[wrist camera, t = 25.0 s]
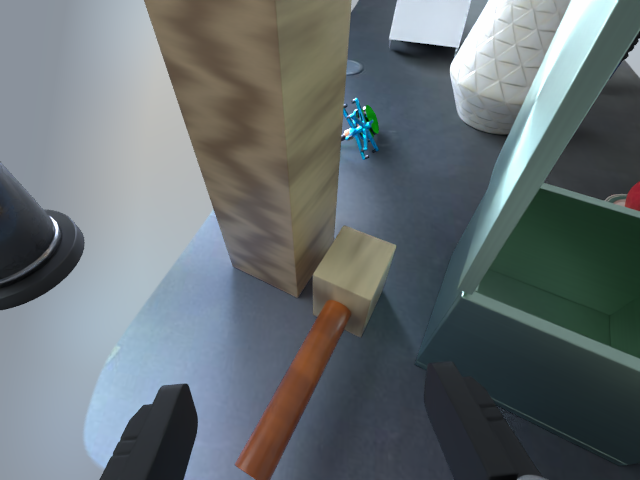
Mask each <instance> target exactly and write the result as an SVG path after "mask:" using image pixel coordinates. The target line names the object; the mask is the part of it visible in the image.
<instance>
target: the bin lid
mask: <svg viewBox="0 0 640 480" xmlns="http://www.w3.org/2000/svg"><path fill="white" fill-rule="evenodd" d="M639 31H640V0H571V1H570V4H569V6H568V8H567V10H566V12H565V14H564V16H563V19H562V21H561V23H560V25H559V27H558V29H557V32H556V34H555V36H554V38H553V40H552V42H551V44H550V47H549V49H548V51H547V53H546V55H545V57H544V59H543V62H542V64H541V66H540V68H539V70H538V72H537V75H536V77H535V79H534V81H533V83H532V85H531V87H530V90H529V92H528V94H527V96H526V98H525V100H524V102H523V105H522V107H521V109H520V111H519V113H518V115H517V118H516V120H515V122H514V124H513V126H512V128H511V130H510V133H509V135H508V137H507V139H506V141H505V143H504V145H503V148H502V150H501V152H500V154H499V156H498V158H497V161H496V163H495V166H494V169H493V173H492V176H491V179H490V182H489V186H488V189H487V192H486V196H485V199H484V202H483V206H482V209H481V212H480V216H479V219H478V222H477V226H476V229H475V232H474V235H473V239H472V242H471V245H470V249H469V252H468V255H467V259H466V262H465V265H464V269H463V272H462V275H461V278H460V282H459V285H458V288H457V289H458V290H460V291H463V292H465V293H468V294H470V295H472V294H473V293H474V291H475V290H476V288H477V286H478V285H479V283H480V282H481V280H482V279H483V277H484V275H485V274H486V272H487V271H488V269H489V267H490V266H491V264H492V263H493V261H494V260H495V258H496V256H497V255H498V253H499V252H500V250H501V249H502V247H503V245H504V244H505V242H506V241H507V239H508V238H509V236H510V234H511V233H512V231H513V230H514V228H515V227H516V225H517V223H518V222H519V220H520V219H521V217H522V215H523V214H524V212H525V211H526V209H527V208H528V206H529V204H530V203H531V201H532V200H533V198H534V197H535V195H536V193H537V192H538V190H539V189H540V187H541V186H542V184H543V182H544V181H545V179H546V178H547V176H548V174H549V173H550V171H551V170H552V168H553V167H554V165H555V163H556V162H557V160H558V159H559V157H560V156H561V154H562V152H563V151H564V149H565V148H566V146H567V145H568V143H569V141H570V140H571V138H572V137H573V135H574V134H575V132H576V130H577V129H578V127H579V126H580V124H581V122H582V121H583V119H584V118H585V116H586V115H587V113H588V111H589V110H590V108H591V107H592V105H593V104H594V102H595V100H596V99H597V97H598V96H599V94H600V93H601V91H602V89H603V88H604V86H605V85H606V83H607V81H608V80H609V78H610V77H611V75H612V74H613V72H614V70H615V69H616V67H617V66H618V64H619V63H620V61H621V59H622V58H623V56H624V55H625V53H626V52H627V50H628V48H629V47H630V45H631V44H632V42H633V41H634V39H635V37H636V36H637V34H638V33H639Z"/></svg>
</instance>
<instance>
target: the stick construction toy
mask: <svg viewBox="0 0 640 480" xmlns="http://www.w3.org/2000/svg"><path fill="white" fill-rule="evenodd" d="M351 102H352V103H355V102H356V105H357V110H355V111H354V115H353V114H351V115H348V113H347V112H346V110H345V108H346V107H347V104H345V105H344V108H343V114H344V116H345V118H346V119H347V121H348V123H349V125H350V127H351V128H350V129H348V130H346V131H345V132H344V133H345V134H343V135H341V141H343V140H345V139H346V140H351V139H353V138H354V137H355V138H356V141H357V144H358V147H359V150H360V153H361V156H362V159H363V160H365V159H367V158H369V156H368V155H367V156H365V155H364V151H366V150H368V142H370V141H371V143H372V145H373V146H374V148H375V149H374V150H372V152H373V153H374V152H376V151H379V149H378V147H377V145H376V143H375V141H374V139H373V135H375V134H377V133H378V132H379V127H378V121H377V118H376V115H375V113H374V111H373V110H372V108H371V107H370V106H369V105H366V106H364V107H363V109H361V106H360V103H359V100H358V98H356V99H354V100H352V101H351ZM357 112H358V113H357ZM351 118H352V119H353V120H354V122H352V120H351ZM361 132H362V133H363V134H362V133H361ZM360 138H361V139H362V140H364V148H362V144H361V141H360Z"/></svg>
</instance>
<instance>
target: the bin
mask: <svg viewBox="0 0 640 480" xmlns="http://www.w3.org/2000/svg"><path fill="white" fill-rule="evenodd" d="M486 192H487V191H486ZM485 196H486V193H485V195H484V196H483V198H482V200H481V202H480V204H479V206H478V207H477V209H476V211H475V213H474V215H473V217H472V218H471V220H470V222H469V224H468V226H467V228H466V230H465V231H464V233H463V235H462V237H461V239H460V241H459V242H458V244H457V246H456V248H455V250H454V252H453V253H452V256H451V259H450V261H449V264H448V267H447V270H446V273H445V276H444V279H443V282H442V285H441V288H440V291H439V294H438V297H437V300H436V303H435V305H434V308H433V311H432V314H431V317H430V320H429V323H428V326H427V329H426V332H425V335H424V338H423V341H422V344H421V346H420V349H419V352H418V355H417V358H416V361H415V365H417V366H419V367H421V368H423V369H425V370H427V365H428V363H432V362H443V361H452V362H453V363H454V364H455V366H456V367H457V369H458V371H459V372H460V374H461V376H462V377H467V376H471V377H472V378H474V379H475V380H476V381H477V382H478V383H479V384H481V385H482V386H483V387H484V388H485V389H486V390H487V392H488V394H489V395H490V397H491V398H492V400H493V401H494V403H495V405H497V406H499V407H501V408H504V409H506V410H508V411H510V412H512V413H514V414H516V415H518V416H520V417H522V418H524V419H526V420H528V421H530V422H532V423H534V424H536V425H538V426H540V427H542V428H544V429H546V430H548V431H550V432H552V433H554V434H556V435H558V436H560V437H562V438H564V439H566V440H568V441H570V442H572V443H574V444H576V445H578V446H580V447H582V448H584V449H586V450H588V451H590V452H592V453H594V454H596V455H598V456H600V457H602V458H604V459H606V460H608V461H610V462H612V463H614V464H616V465H618V466H623V465H629V464H636V463H640V211H637V210H633V209H630V208H627V207H623V206H620V205H617V204H613V203H610V202H606V201H603V200H600V199H596V198H593V197H590V196H586V195H583V194H579V193H576V192H573V191H569V190H566V189H563V188H559V187H556V186H552V185H549V184H546V183H543V184H542V186H541V187H540V189H539V190H538V192H537V193H536V195H535V197H534V198H533V200H532V201H531V203H530V204H529V206H528V208H527V209H526V211H525V212H524V214H523V215H522V217H521V219H520V220H519V222H518V223H517V225H516V227H515V228H514V230H513V231H512V233H511V234H510V236H509V238H508V239H507V241H506V242H505V244H504V245H503V247H502V249H501V250H500V252H499V253H498V255H497V256H496V258H495V260H494V261H493V263H492V264H491V266H490V267H489V269H488V271H487V272H486V274H485V275H484V277H483V279H482V280H481V282H480V283H479V285H478V286H477V288H476V290H475V291H474V293H473V294H472V295H470V294H468V293H465V292H463V291H460V290H458V289H457V288H458V285H459V282H460V278H461V275H462V272H463V269H464V265H465V262H466V259H467V255H468V252H469V249H470V245H471V242H472V239H473V235H474V232H475V229H476V226H477V222H478V219H479V216H480V212H481V209H482V206H483V202H484V199H485Z"/></svg>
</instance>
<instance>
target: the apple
mask: <svg viewBox="0 0 640 480" xmlns="http://www.w3.org/2000/svg"><path fill="white" fill-rule="evenodd" d="M605 201H606V202H610V203H613V204H617V205H620V206H623V207H627V208H630V209H633V210H637V211H640V181H639V182H638V183H637V184H635V185H634V186H633V187H632V188H631V189H630V191H629V193H628V195H626V194H617V195H612V196H610V197H608V198H607V199H606V200H605Z"/></svg>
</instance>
